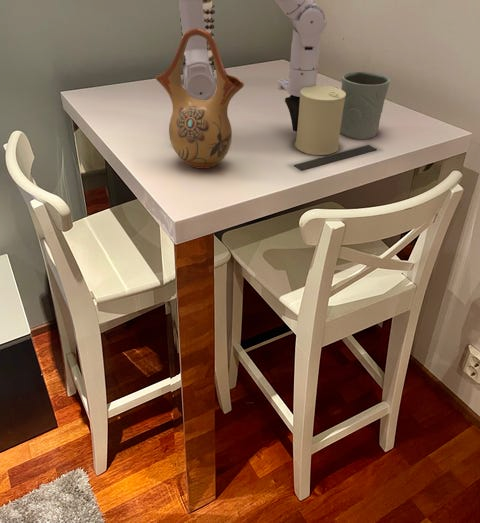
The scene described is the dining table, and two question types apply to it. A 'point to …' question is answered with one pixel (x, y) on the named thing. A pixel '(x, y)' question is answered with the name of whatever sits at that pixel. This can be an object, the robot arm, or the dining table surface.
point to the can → (319, 119)
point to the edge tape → (334, 157)
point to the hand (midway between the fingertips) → (298, 130)
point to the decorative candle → (206, 28)
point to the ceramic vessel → (199, 111)
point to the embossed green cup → (363, 103)
